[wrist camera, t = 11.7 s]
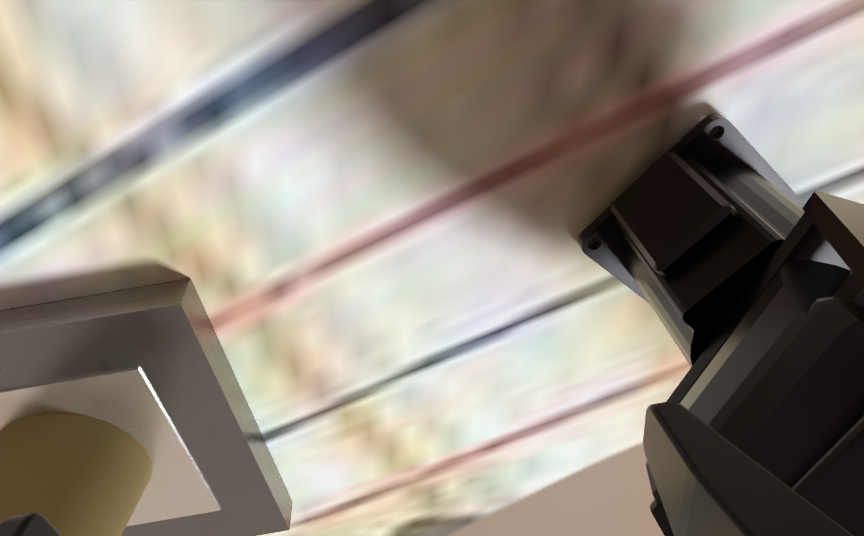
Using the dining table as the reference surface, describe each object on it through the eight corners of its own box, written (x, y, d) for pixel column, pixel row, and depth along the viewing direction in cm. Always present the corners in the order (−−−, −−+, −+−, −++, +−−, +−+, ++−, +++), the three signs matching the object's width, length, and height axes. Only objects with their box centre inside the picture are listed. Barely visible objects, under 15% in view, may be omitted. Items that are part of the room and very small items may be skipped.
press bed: (190, 278, 22) (179, 305, 21) (292, 502, 30) (289, 531, 29) (-188, 342, 22) (-224, 373, 20) (15, 549, 30) (-1, 581, 28)
